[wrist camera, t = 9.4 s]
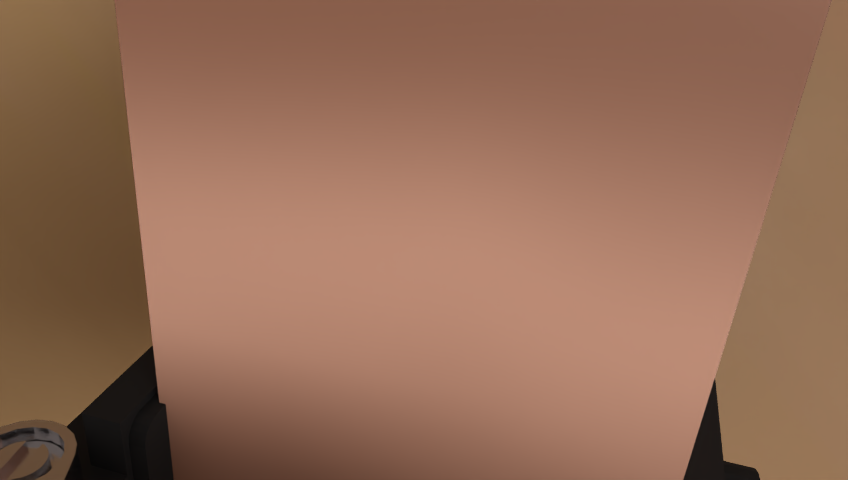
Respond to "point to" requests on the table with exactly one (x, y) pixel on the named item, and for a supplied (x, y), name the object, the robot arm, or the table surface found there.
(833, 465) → the table surface
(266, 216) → the pink elongated block
